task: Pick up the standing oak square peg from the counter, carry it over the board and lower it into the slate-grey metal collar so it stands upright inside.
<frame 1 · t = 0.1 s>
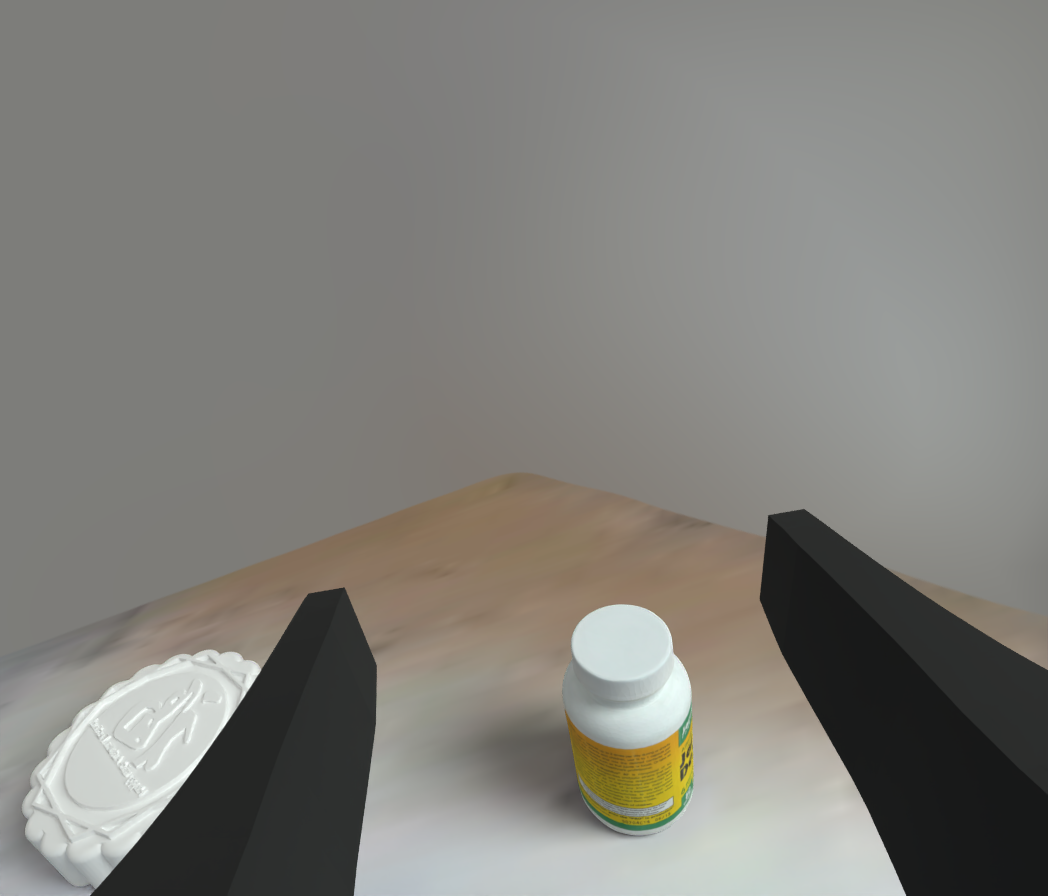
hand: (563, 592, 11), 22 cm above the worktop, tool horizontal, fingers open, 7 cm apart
mooncake: (178, 775, 35), on the worktop
supplement bottle: (635, 785, 31), on the worktop
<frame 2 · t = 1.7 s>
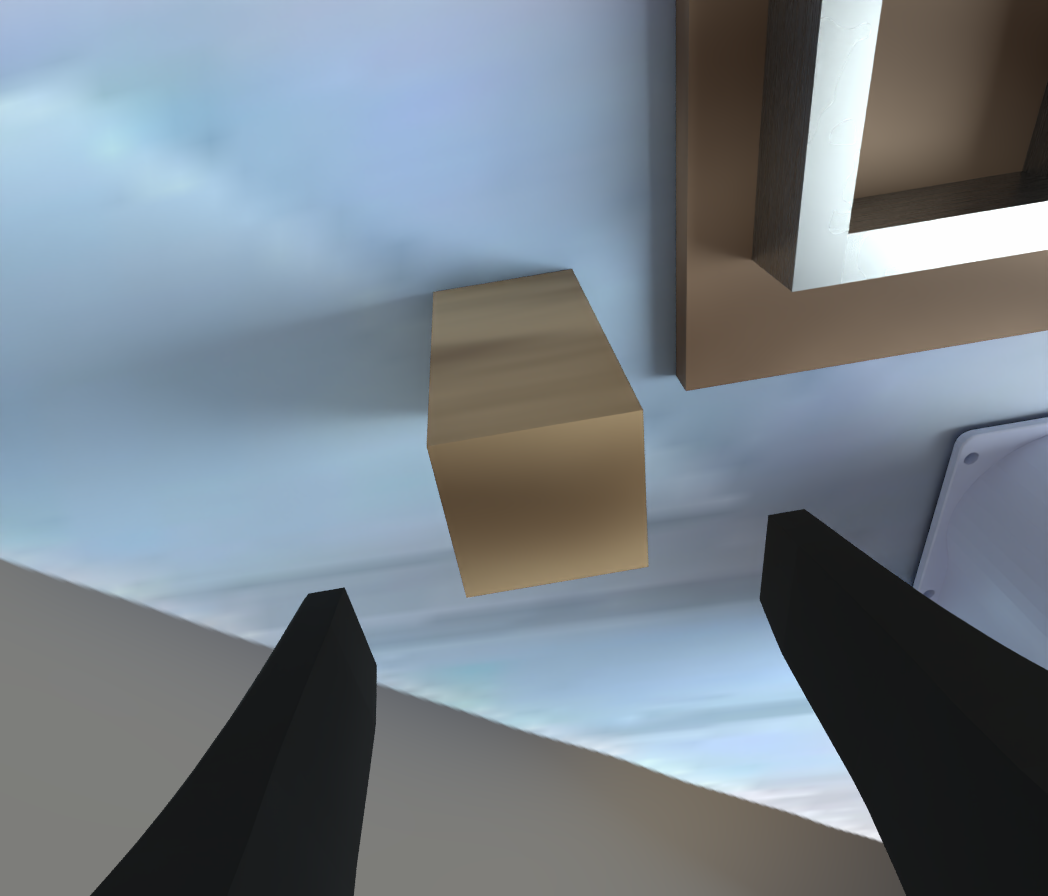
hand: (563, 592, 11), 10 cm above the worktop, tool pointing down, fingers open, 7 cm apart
peg: (512, 344, 20), on the worktop
socket board: (911, 56, 16), on the worktop
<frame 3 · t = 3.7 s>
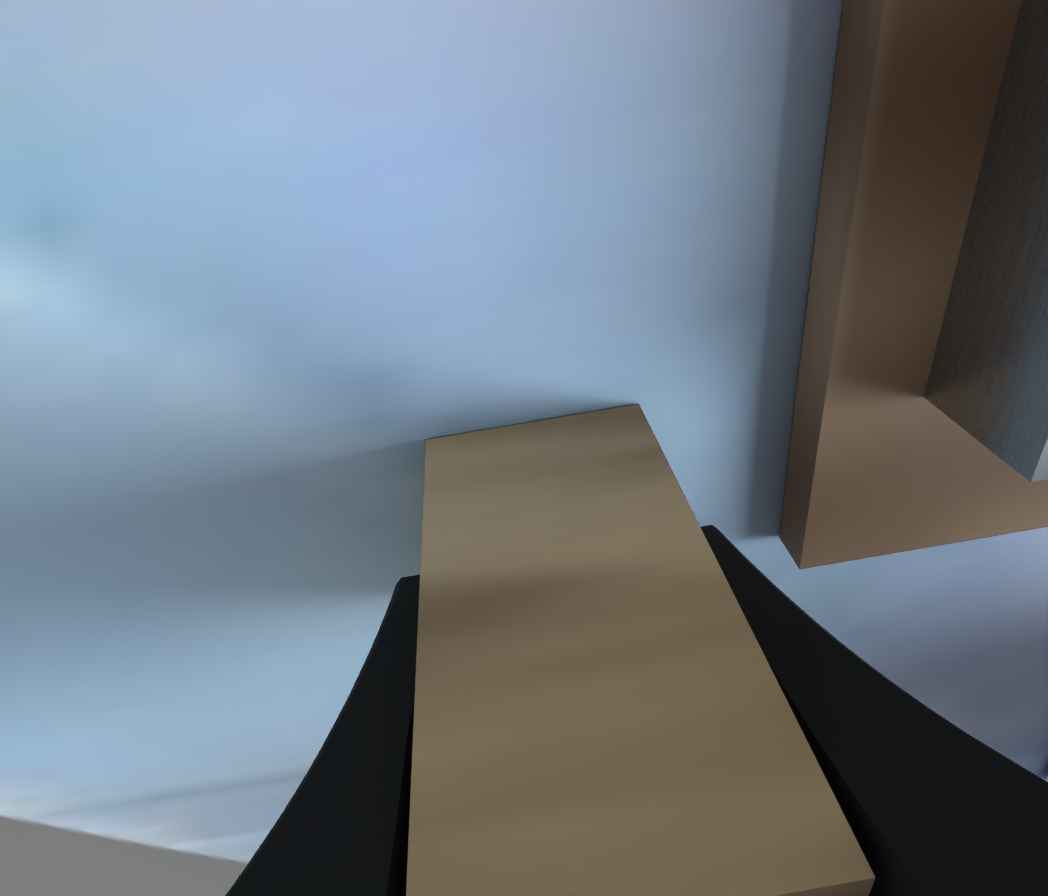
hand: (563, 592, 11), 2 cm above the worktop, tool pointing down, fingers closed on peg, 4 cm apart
peg: (544, 504, 13), on the worktop, touching gripper
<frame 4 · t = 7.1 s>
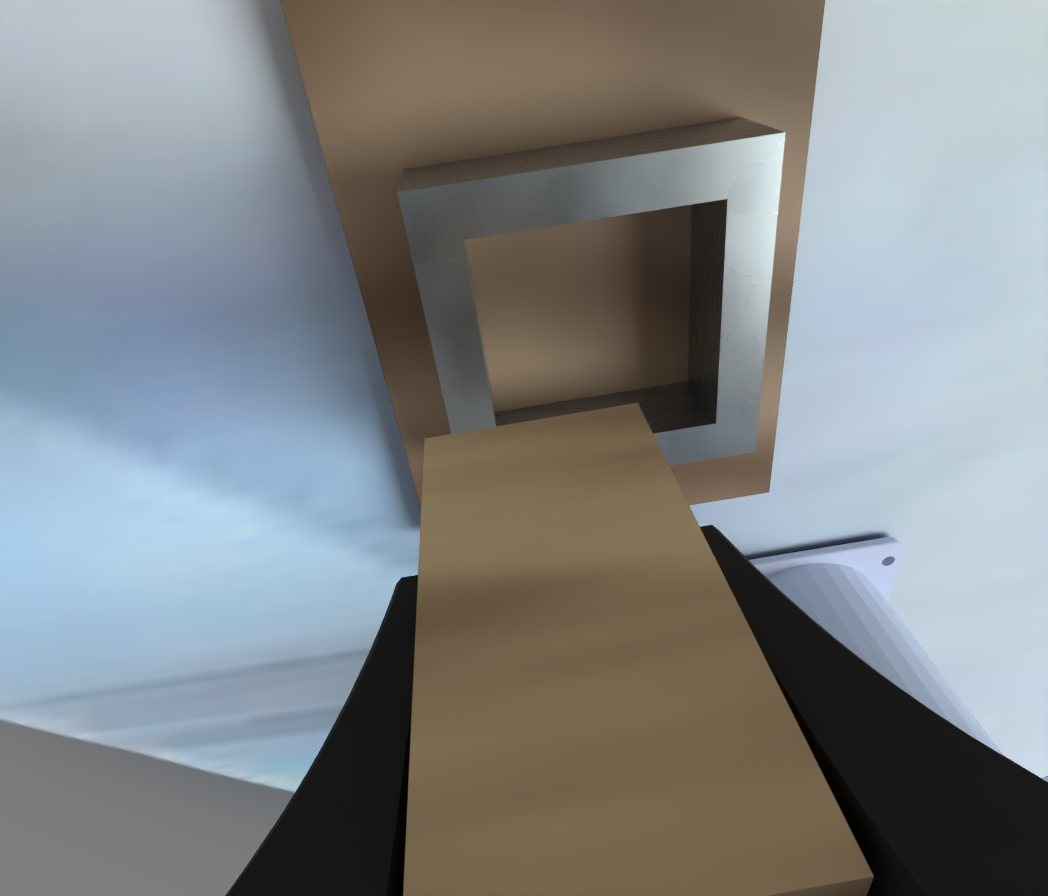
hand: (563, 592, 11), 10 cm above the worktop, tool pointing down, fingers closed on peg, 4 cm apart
peg: (543, 503, 13), point 8 cm above the worktop, touching gripper
socket board: (578, 292, 19), on the worktop
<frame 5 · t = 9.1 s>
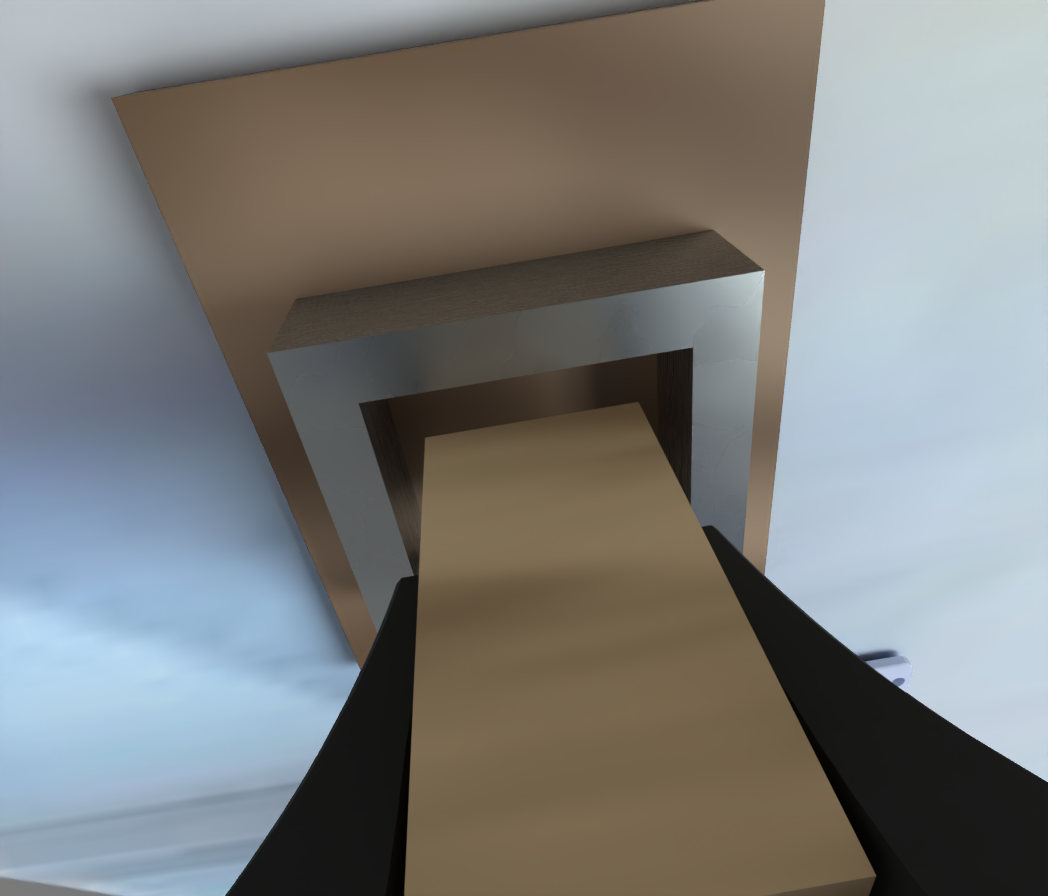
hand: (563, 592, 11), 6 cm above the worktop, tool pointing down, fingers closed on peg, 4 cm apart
peg: (544, 502, 13), point 3 cm above the worktop, touching gripper
socket board: (527, 417, 16), on the worktop
when the fingers open (4 cm above the worktop, at t = 10.8 s): peg stays where it is, resting on socket board.
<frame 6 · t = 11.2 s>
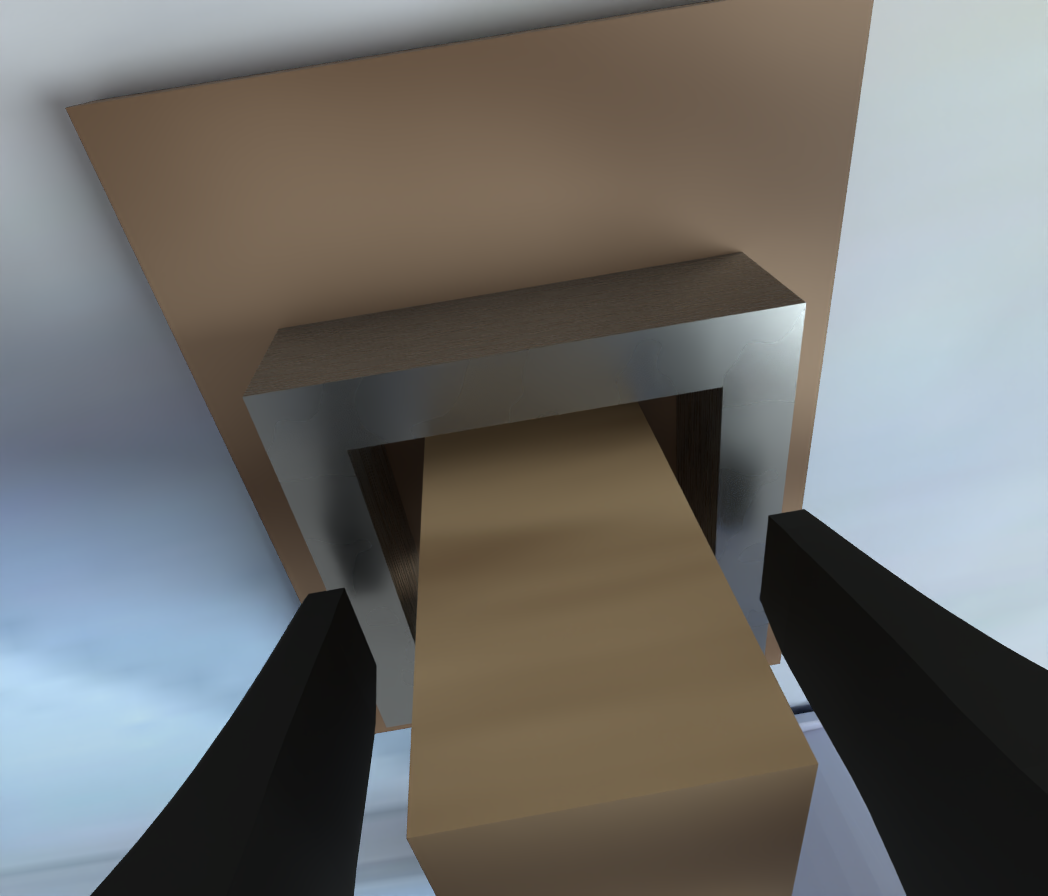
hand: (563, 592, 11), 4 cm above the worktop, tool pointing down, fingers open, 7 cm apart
peg: (539, 475, 14), point 1 cm above the worktop, touching socket board
socket board: (533, 450, 15), on the worktop
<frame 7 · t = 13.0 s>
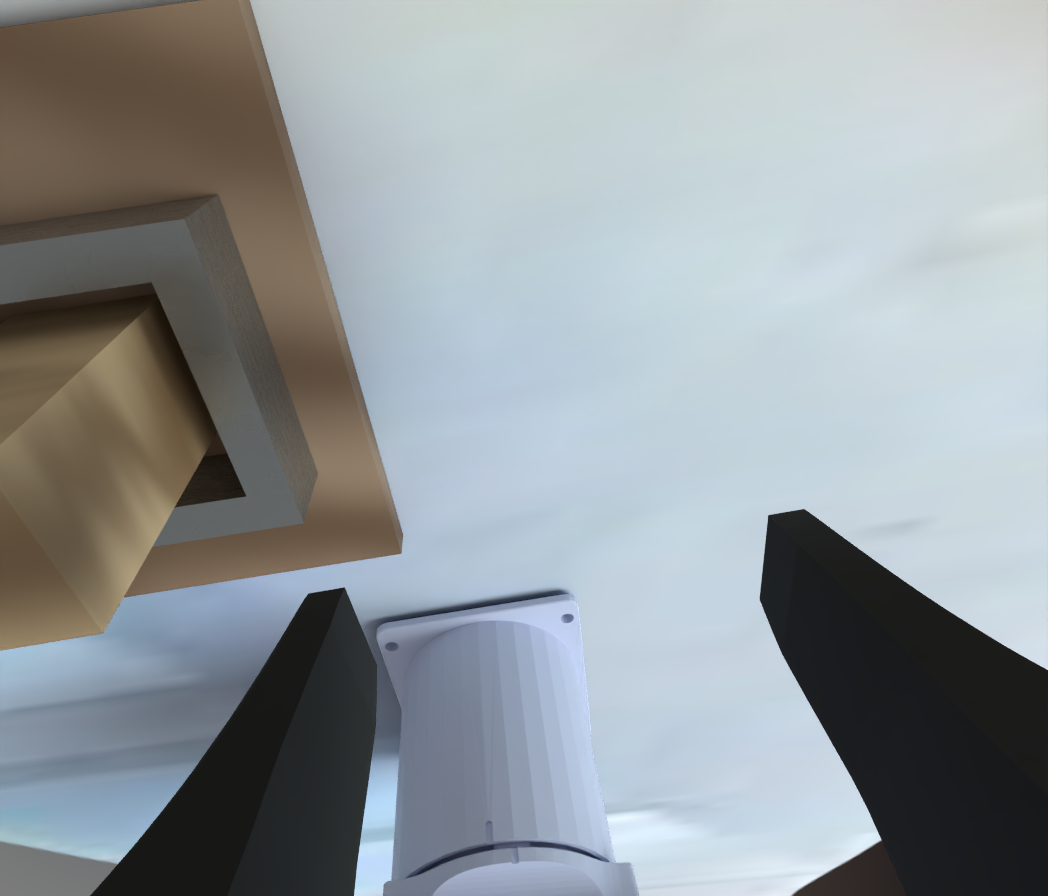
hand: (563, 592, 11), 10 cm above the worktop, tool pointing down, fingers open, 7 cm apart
peg: (123, 372, 18), point 1 cm above the worktop, touching socket board
socket board: (138, 358, 19), on the worktop
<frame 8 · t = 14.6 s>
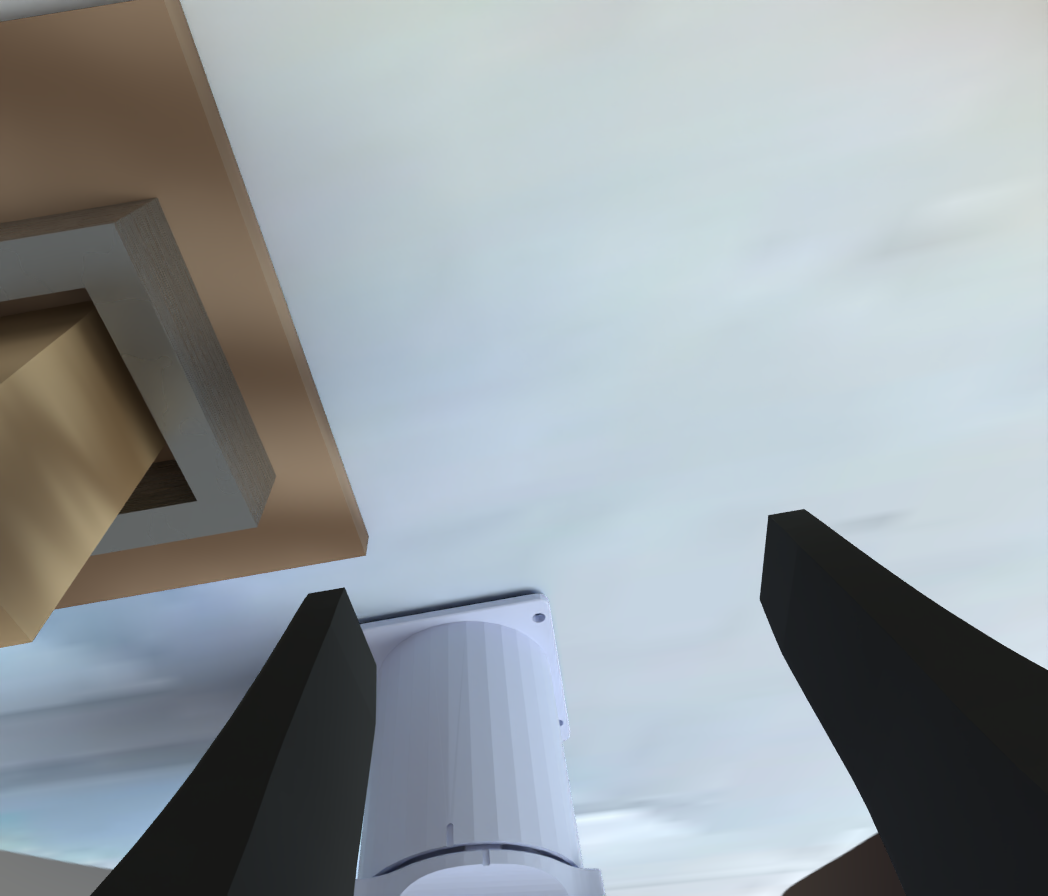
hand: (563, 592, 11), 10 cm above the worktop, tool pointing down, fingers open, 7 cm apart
peg: (73, 379, 18), point 1 cm above the worktop, touching socket board
socket board: (90, 364, 19), on the worktop
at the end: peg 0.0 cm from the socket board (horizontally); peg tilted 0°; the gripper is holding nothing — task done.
